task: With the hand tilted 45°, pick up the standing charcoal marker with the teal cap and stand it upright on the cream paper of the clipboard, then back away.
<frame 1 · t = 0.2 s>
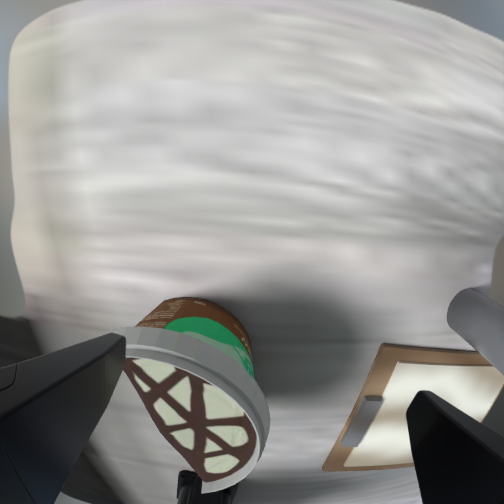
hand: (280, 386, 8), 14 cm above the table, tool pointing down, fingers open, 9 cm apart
clipboard: (428, 415, 26), on the table
marker: (464, 309, 23), on the table
food container: (225, 340, 24), on the table
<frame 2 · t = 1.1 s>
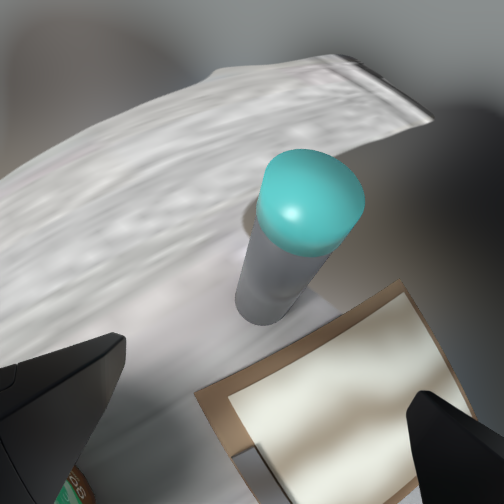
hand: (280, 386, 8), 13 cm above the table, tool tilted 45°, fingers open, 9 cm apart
clipboard: (363, 421, 20), on the table
marker: (262, 299, 24), on the table
food container: (57, 472, 15), on the table
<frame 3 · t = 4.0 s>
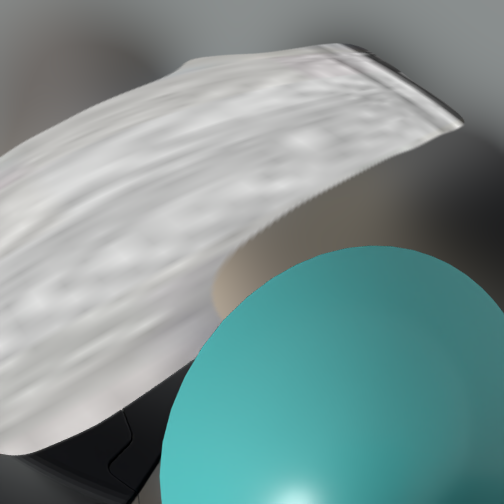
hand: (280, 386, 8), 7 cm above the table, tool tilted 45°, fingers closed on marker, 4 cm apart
marker: (243, 426, 13), on the table, touching gripper
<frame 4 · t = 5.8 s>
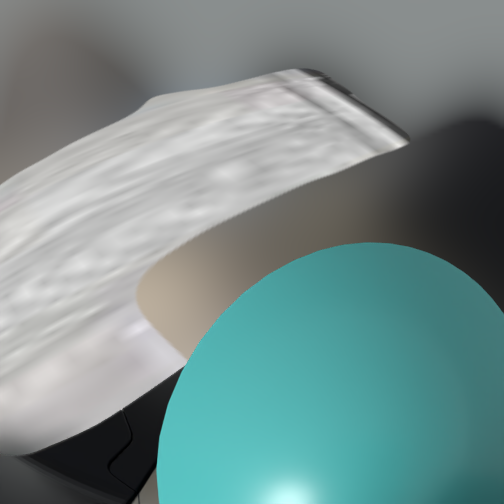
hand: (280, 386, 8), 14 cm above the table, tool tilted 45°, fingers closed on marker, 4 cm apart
marker: (243, 425, 13), point 7 cm above the table, touching gripper
when the fingers open (9 cm above the table, at t = 7.4 s): marker drops 1 cm, resting on clipboard.
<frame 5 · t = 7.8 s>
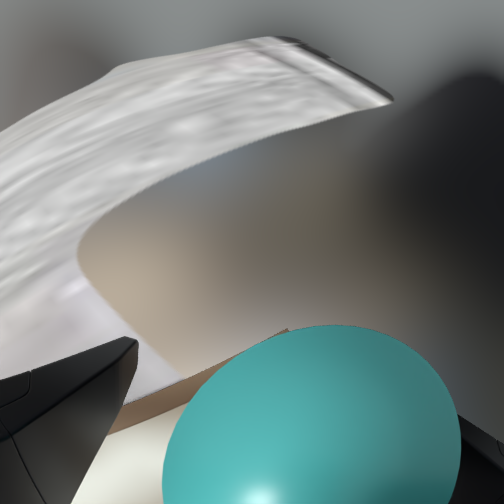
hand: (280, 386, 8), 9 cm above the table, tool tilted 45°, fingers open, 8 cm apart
marker: (240, 425, 14), point 1 cm above the table, touching clipboard
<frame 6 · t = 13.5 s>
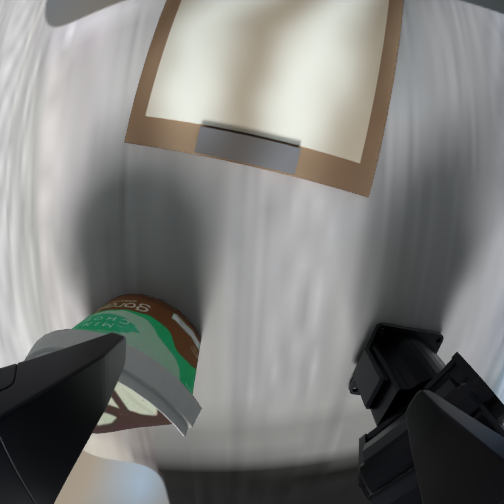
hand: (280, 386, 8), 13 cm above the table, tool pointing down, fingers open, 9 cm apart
clipboard: (278, 31, 17), on the table
food container: (131, 317, 23), on the table
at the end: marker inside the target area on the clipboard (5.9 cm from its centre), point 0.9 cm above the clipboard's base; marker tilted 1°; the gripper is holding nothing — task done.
